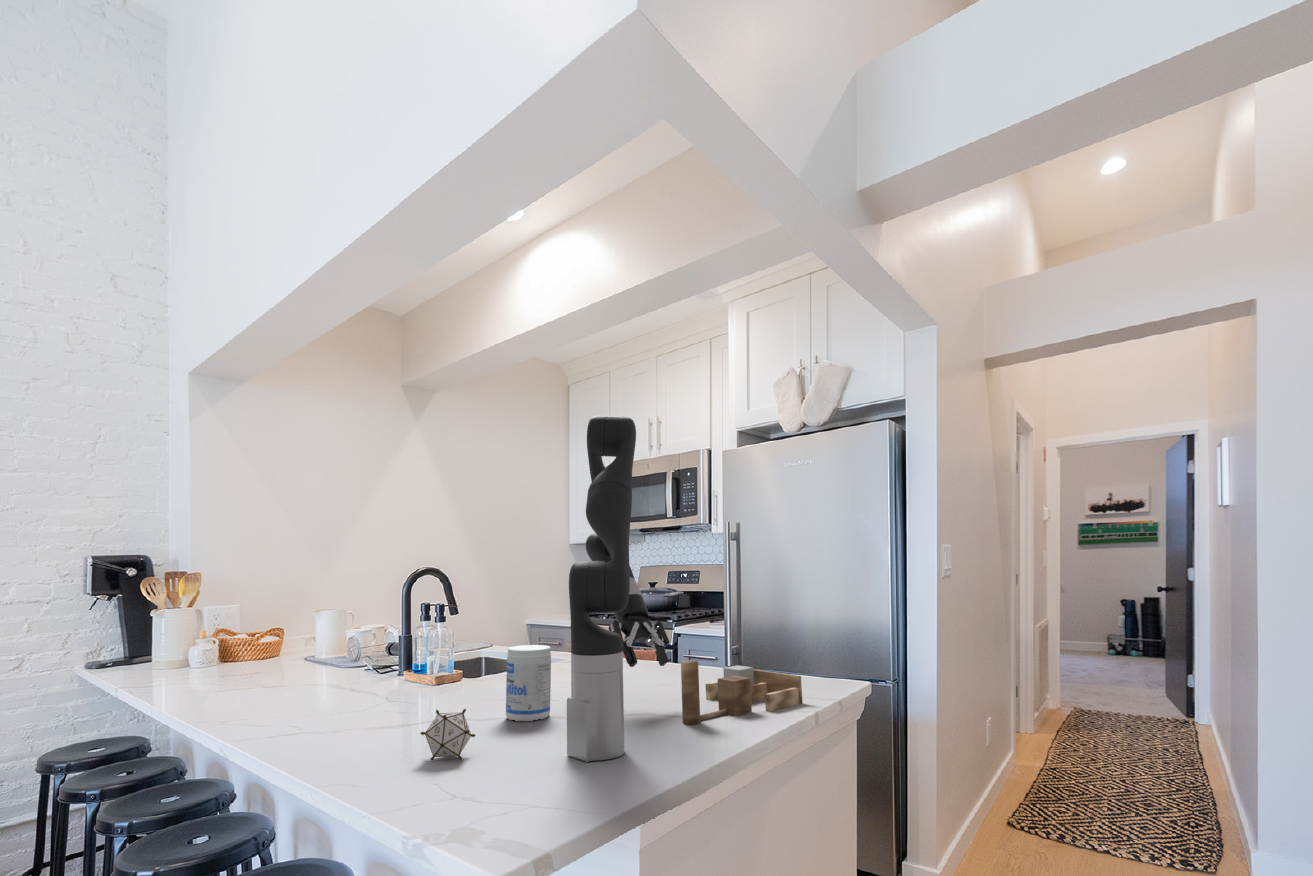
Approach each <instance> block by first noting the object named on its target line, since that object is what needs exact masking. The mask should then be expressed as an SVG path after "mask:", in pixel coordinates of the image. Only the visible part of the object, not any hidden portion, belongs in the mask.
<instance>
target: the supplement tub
mask: <svg viewBox="0 0 1313 876" xmlns="http://www.w3.org/2000/svg"><path fill="white" fill-rule="evenodd" d="M506 655H507V657H506V682H505V683H506V686H505V687H506V688H505V689H506V691H505V692H506V693H505V716H506V718H507V719H508V720H510V721H512V720H515V721H514V722H520V721H521V722H534V721H533V720H537V721H539V720H538V719H541V720H544V719H546V718H548V717H549V716H550V714H551V692H552V691H551V689H552V688H551V683H552V681H551V680H552V679H551V678H552V677H551V676H552V652H551V646H549V645H545V644H544V645H543V644H542V645H541V644H524V645H523V644H522V645H515V646H510V647H508V650H507V654H506Z"/></svg>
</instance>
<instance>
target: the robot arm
mask: <svg viewBox="0 0 1313 876" xmlns="http://www.w3.org/2000/svg"><path fill="white" fill-rule="evenodd" d="M636 427H637V426H636V423H635V422H634V420H633V419H632V418H631V417H626V416H618V415H617V416H615V415H613V416H612V415H593V416H591V417H590V418H589V421H588V424H587V428H586V448H587V449H586V450H587V457H588V458H587V459H588V465H589V475H590V480H591V481H590V484H589V486H588V490H587V497H586V506H585V516H586V520H587V522H588V524H589V525H590V527H591V529H592V530H593V532H594V533H591V534H590V535H589V536H587V538H586V540H585V550H586V553H587V555H588V557H589V559H590V560H586V561H576V562H573V564H572V565H571V567H570V569H569V574H568V597H569V609H570V610H569V611H570V612H569V613H570V616H569V617H570V652H571V654H570V655H571V656H570V658H571V659H570V662H571V663H570V665H571V666H570V667H571V668H570V669H571V670H570V673H571V677H570V678H571V683H570V684H571V685H570V686H571V688H570V689H571V690H570V691H571V693H570V695H571V696H570V697H567V699H566V755H567V756H569V757H572V758H574V759H576V760H577V759H578V760H580V761H583V762H586V763H587V762H589V763H590V762H593V761H605V760H611V759H615V758H619V757H621V756H623V755H624V754H625V753H626V752H625V749H626V748H625V708H624V707H625V705H624V703H625V702H624V698H625V697H624V657H625V661H626V663H627V665H628V666H629V667H630V668H633V667H636V665H637V664H638V659H637V656H636V653H635V650H634V647H633V646H632V644H633V643H638V642H639V643H645V645H647V646H648V647H649V646H650V648H652V649H653V650H654V651H655V652H654V653H655V655H656V658H657V659H656V660H657V661H658V664H659V666H660V667H664V666H665V665H667V664H668V662H669V661H668V660H669V657H668V654H667V651H666V649H665V648H666V647H667V646H668V645H669V644H670V640H669V638H668V635H667V632H666V630H665V628H664V626H663V623H662V621H660V620H658V621H656V622H651V621H650V620H649V611H648V607H647V605H646V602H645V600H644V597H643V595H642V591H641V589H640V587H639V585H638V583H637V581H636V579H635V576H634V573H633V570H632V568H631V565H630V533H631V532H630V531H631V530H630V529H631V519H632V507H633V466H634V458H635V451H636V445H637V444H636V441H637V428H636ZM602 457H608V458H609V457H612V458H613V457H615V458H614V459H613V460H612V462H611V463H610V464H608V465H607V466H605V464H604V462H603V458H602ZM593 613H595V614H598V613H601V614H602V613H613V614H614V617H615V619H614V620H613V622H612V623H611V624H610V625H609V626H608V629H606V628H604V627H601V626H600V625H598V624H596V623H595V622H594V621H593V620H592V619H591V618H590V614H593ZM623 634H624V637H623ZM650 636H651V638H650ZM649 638H650V639H649Z"/></svg>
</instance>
